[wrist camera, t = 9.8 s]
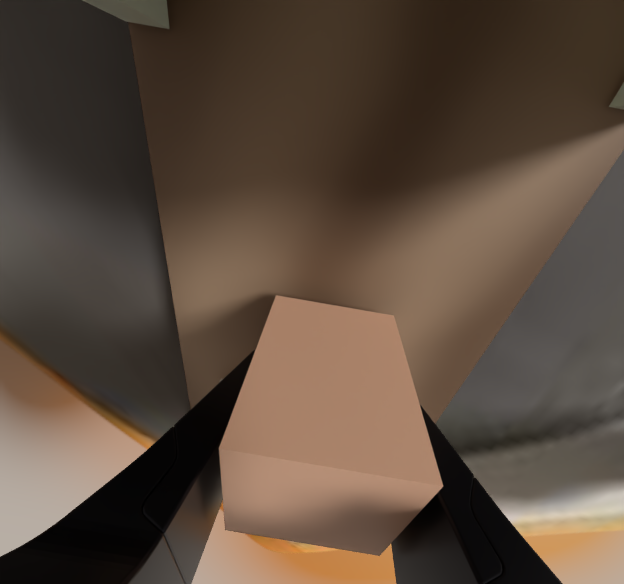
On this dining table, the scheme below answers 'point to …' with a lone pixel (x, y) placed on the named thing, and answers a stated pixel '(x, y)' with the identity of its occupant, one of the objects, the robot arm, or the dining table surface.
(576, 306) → the dining table surface
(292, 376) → the block
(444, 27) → the board
